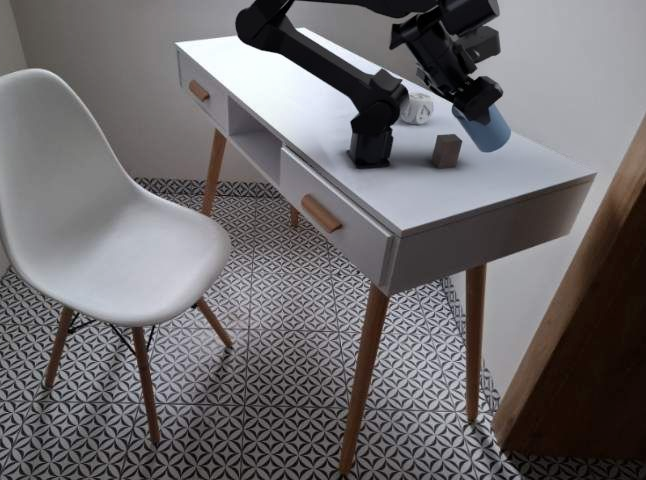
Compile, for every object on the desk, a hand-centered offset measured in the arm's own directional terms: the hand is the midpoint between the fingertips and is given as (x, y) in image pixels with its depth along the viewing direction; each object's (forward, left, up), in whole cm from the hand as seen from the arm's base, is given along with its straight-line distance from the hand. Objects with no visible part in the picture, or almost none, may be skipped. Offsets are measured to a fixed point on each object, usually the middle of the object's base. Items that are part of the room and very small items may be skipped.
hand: (478, 115), depth 88 cm
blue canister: (+1, 0, -7) cm, 7 cm away
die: (-2, +20, -9) cm, 21 cm away
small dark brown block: (-4, 0, -9) cm, 10 cm away
